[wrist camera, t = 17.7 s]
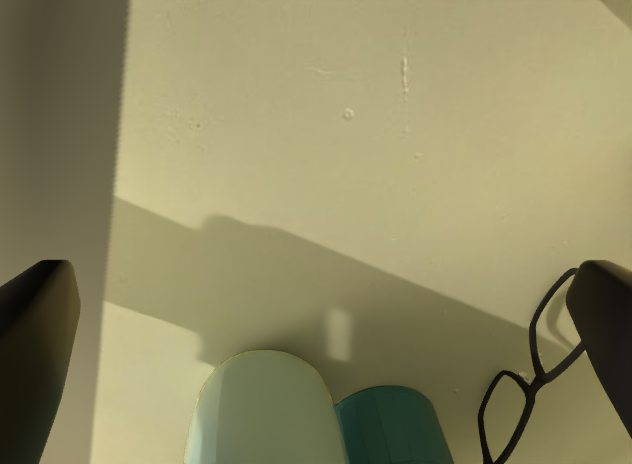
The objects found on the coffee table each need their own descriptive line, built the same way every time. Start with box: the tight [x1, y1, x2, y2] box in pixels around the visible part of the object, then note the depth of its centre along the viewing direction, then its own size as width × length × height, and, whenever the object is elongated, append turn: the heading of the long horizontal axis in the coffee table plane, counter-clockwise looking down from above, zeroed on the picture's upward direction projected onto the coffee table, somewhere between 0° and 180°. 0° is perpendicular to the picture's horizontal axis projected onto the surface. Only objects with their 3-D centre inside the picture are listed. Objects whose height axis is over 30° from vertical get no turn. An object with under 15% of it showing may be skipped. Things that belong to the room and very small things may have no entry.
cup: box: [183, 350, 349, 464], centre depth 24 cm, size 8×8×10 cm
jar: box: [335, 386, 454, 464], centre depth 30 cm, size 7×7×6 cm
